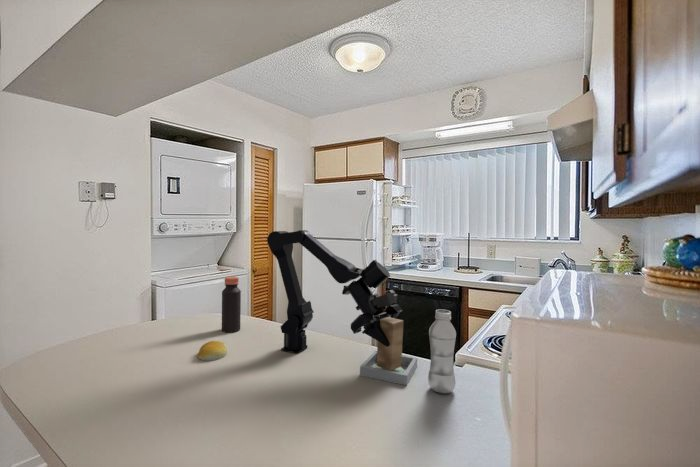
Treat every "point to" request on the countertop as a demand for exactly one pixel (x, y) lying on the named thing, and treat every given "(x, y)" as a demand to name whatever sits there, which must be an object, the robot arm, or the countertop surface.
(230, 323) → the vinegar
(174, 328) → the countertop surface
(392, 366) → the walnut block
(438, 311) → the plastic bottle
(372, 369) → the walled pen
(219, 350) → the bread roll
